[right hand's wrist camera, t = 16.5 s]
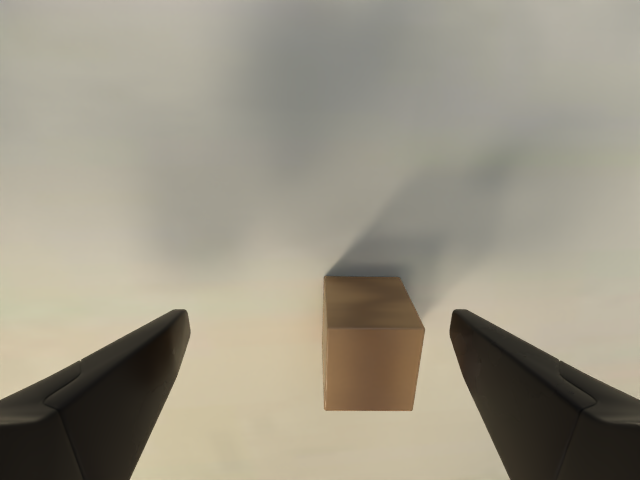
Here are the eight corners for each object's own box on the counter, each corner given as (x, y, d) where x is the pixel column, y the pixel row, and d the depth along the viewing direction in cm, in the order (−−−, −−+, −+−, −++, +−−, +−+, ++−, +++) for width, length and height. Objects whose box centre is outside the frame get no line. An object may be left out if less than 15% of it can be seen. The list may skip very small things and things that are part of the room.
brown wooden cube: (400, 276, 19) (426, 328, 15) (392, 345, 21) (413, 412, 16) (323, 275, 19) (326, 327, 14) (322, 345, 21) (324, 411, 16)
